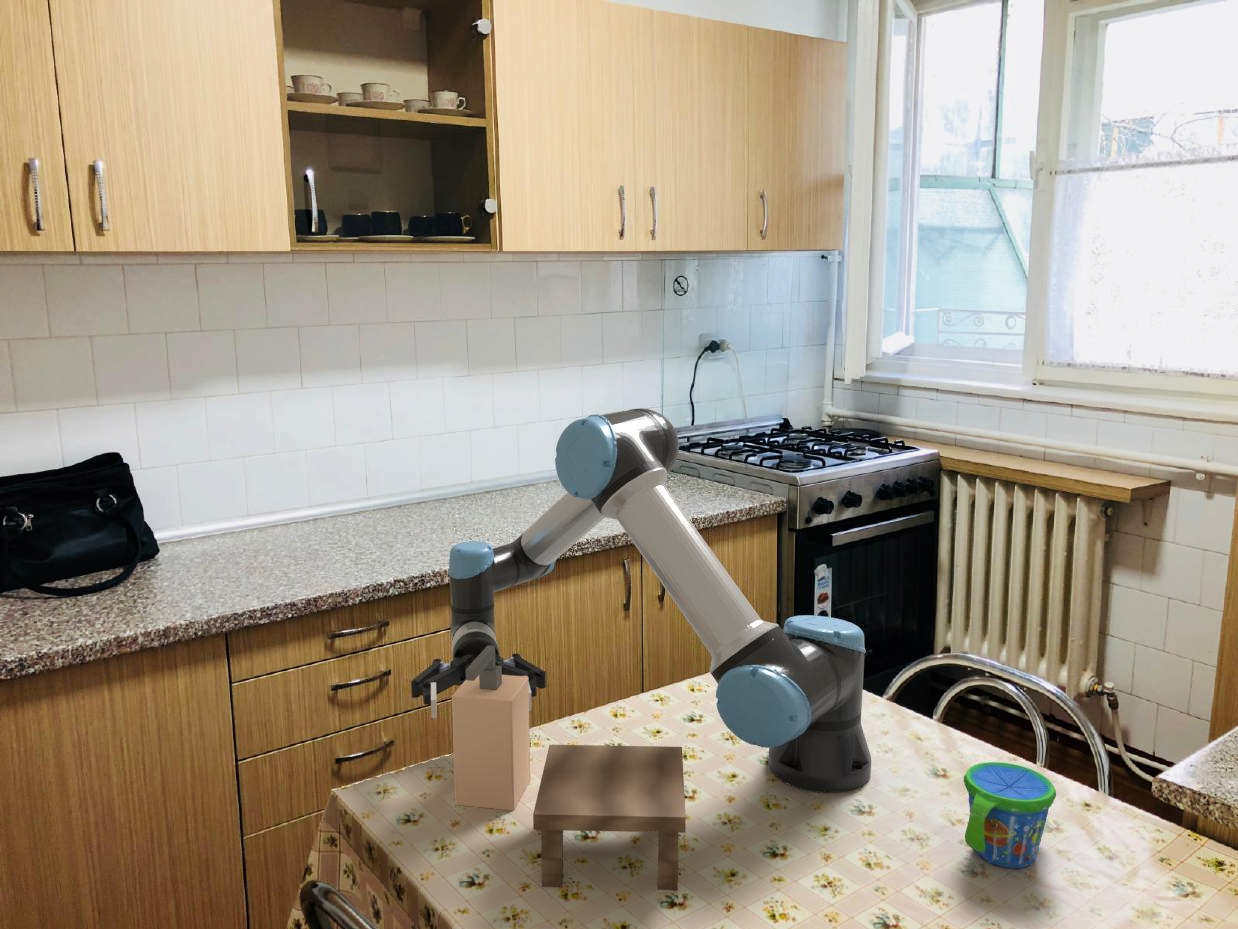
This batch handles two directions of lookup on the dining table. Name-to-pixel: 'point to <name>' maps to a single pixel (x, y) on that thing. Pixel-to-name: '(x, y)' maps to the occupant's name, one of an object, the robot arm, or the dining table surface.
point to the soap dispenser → (491, 736)
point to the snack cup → (1007, 812)
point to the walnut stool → (611, 800)
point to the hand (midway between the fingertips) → (481, 705)
